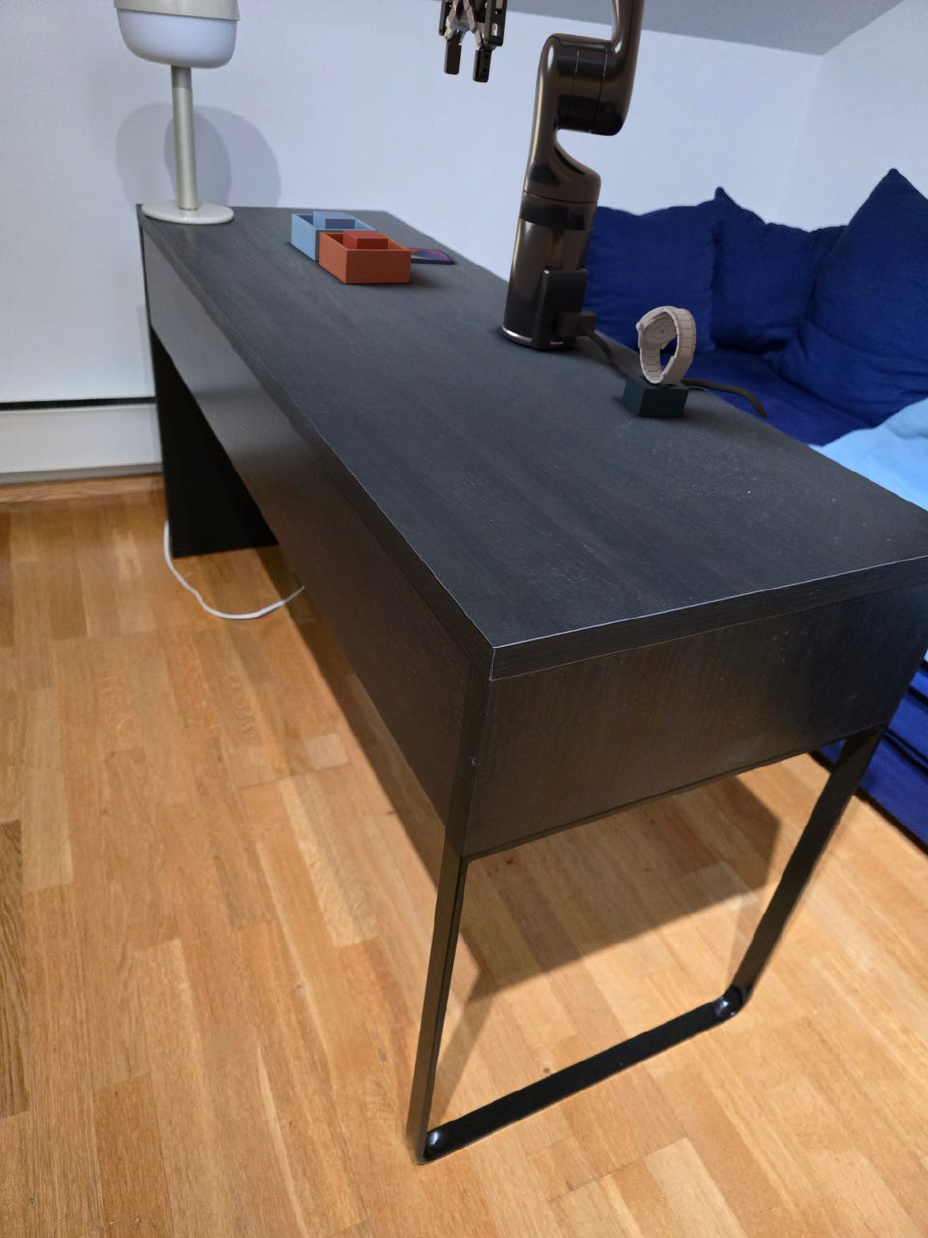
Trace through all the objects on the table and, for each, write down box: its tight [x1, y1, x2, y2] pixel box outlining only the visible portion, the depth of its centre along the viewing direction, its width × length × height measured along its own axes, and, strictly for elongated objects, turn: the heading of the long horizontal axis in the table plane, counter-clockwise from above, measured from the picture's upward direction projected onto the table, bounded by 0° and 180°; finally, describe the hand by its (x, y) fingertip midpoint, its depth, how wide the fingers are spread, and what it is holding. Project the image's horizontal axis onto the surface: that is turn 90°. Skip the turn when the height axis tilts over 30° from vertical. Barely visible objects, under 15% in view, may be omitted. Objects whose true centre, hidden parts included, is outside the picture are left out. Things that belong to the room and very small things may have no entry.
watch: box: [621, 305, 697, 417], centre depth 96 cm, size 6×8×11 cm
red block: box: [343, 230, 389, 250], centre depth 130 cm, size 5×5×5 cm
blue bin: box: [291, 213, 378, 262], centre depth 139 cm, size 10×10×4 cm
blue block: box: [312, 210, 355, 229], centre depth 138 cm, size 5×5×5 cm
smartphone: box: [407, 247, 453, 265], centre depth 143 cm, size 7×15×1 cm, turn 109°
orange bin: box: [318, 232, 412, 284], centre depth 130 cm, size 10×10×4 cm
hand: (465, 77), depth 125 cm, fingers open, 8 cm apart
